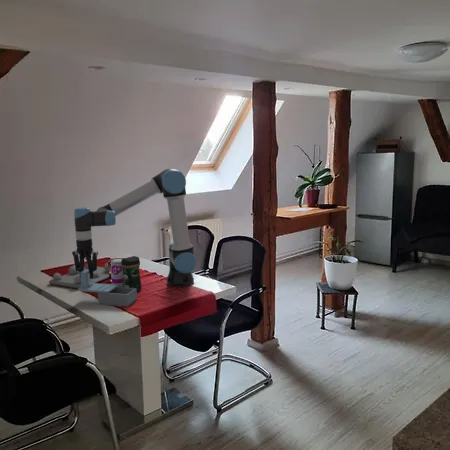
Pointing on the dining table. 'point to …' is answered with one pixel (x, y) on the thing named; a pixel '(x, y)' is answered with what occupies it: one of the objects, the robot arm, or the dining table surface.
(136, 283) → the coffee jar
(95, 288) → the pale blue stepped block
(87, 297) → the dining table surface
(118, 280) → the supplement can
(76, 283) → the decorative tray
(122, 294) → the tub
